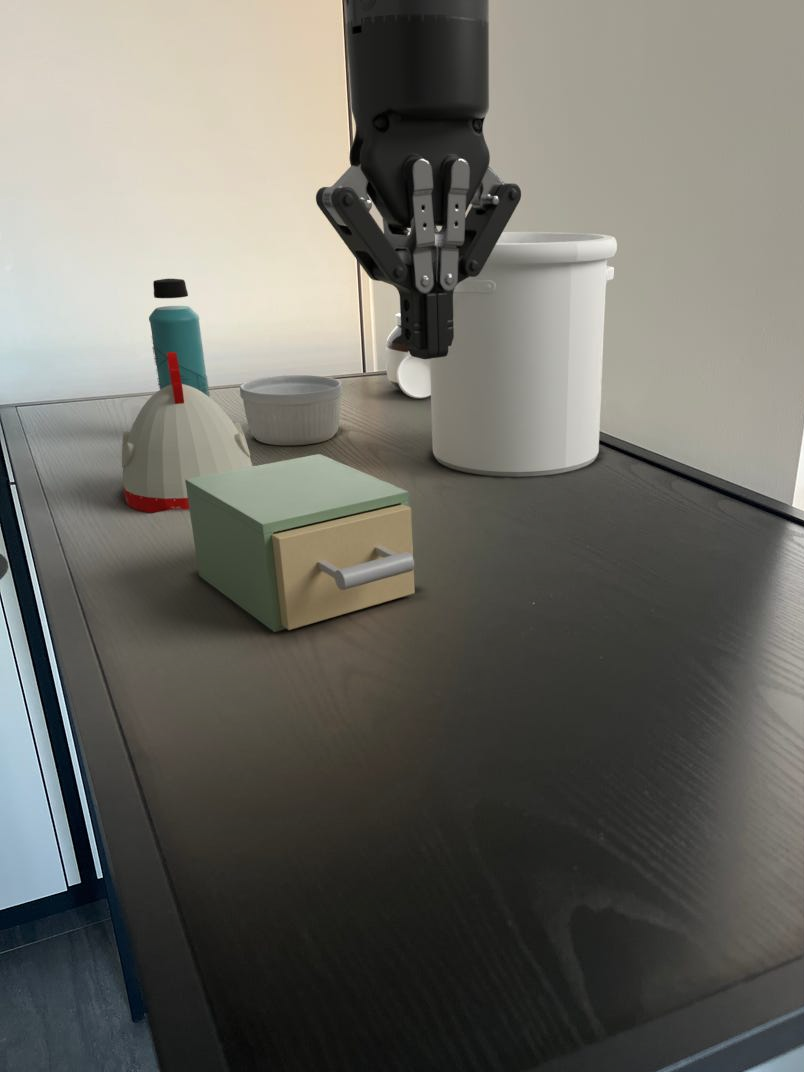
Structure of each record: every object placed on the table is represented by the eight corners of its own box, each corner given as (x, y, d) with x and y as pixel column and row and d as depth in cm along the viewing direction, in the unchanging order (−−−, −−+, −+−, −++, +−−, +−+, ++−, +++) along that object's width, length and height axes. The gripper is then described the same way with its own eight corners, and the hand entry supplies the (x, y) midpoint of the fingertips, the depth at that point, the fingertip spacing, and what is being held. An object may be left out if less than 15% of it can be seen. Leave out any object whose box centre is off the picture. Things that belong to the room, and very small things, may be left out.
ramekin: (351, 424, 136) (348, 373, 133) (337, 449, 124) (333, 394, 121) (257, 424, 136) (252, 374, 133) (234, 449, 124) (227, 394, 121)
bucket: (546, 426, 134) (550, 228, 123) (655, 462, 117) (671, 237, 106) (380, 453, 122) (369, 237, 111) (475, 498, 105) (472, 248, 94)
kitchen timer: (248, 471, 115) (233, 340, 108) (263, 505, 103) (247, 360, 97) (125, 483, 111) (101, 348, 105) (126, 520, 99) (99, 370, 93)
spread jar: (431, 382, 162) (429, 309, 157) (472, 392, 154) (471, 316, 149) (370, 391, 156) (366, 315, 151) (410, 403, 148) (407, 323, 143)
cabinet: (413, 597, 81) (408, 491, 77) (275, 638, 74) (262, 524, 70) (327, 549, 91) (319, 453, 87) (199, 580, 84) (184, 479, 80)
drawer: (445, 610, 76) (443, 521, 73) (316, 650, 70) (307, 555, 67) (333, 548, 89) (327, 470, 86) (215, 577, 83) (204, 494, 79)
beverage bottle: (209, 428, 135) (188, 275, 126) (221, 438, 129) (201, 279, 121) (161, 434, 132) (136, 277, 123) (172, 445, 127) (147, 282, 118)
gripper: (475, 34, 57) (478, 338, 65) (270, 16, 50) (300, 360, 58) (559, 19, 52) (551, 352, 59) (343, -3, 45) (365, 379, 52)
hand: (427, 356), depth 59 cm, fingers closed
